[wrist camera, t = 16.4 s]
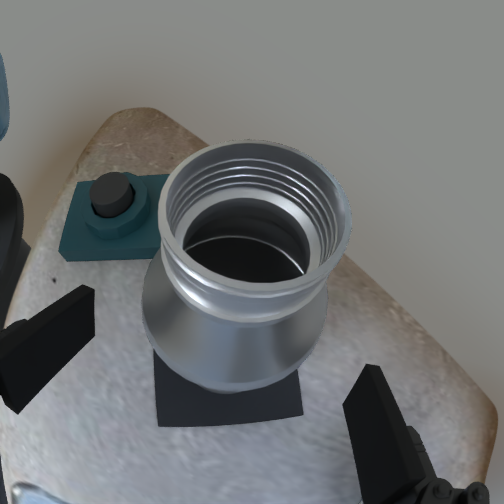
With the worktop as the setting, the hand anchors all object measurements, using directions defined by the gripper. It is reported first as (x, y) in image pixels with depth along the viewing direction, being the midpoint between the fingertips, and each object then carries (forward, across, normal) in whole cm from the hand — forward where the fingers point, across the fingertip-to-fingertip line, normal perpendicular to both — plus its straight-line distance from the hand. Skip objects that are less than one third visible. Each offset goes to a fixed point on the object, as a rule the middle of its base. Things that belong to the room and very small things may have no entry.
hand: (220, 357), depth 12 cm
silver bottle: (+9, 0, -7) cm, 12 cm away
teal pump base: (+16, -14, 0) cm, 22 cm away
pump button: (+14, -14, +2) cm, 20 cm away
